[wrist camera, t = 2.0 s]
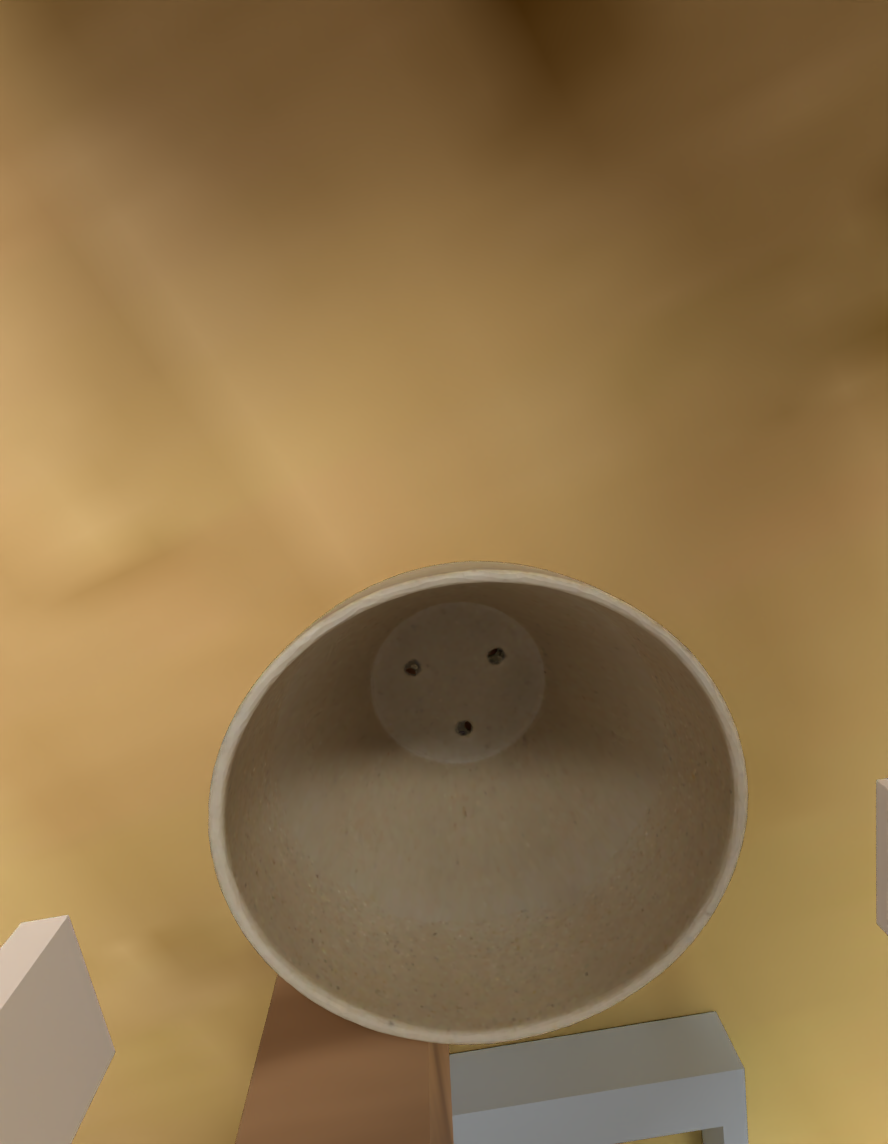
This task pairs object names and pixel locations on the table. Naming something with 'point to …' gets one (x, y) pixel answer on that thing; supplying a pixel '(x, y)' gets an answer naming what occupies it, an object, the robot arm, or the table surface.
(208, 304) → the table surface
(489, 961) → the flower pot
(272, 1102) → the peg
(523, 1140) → the grey window frame
